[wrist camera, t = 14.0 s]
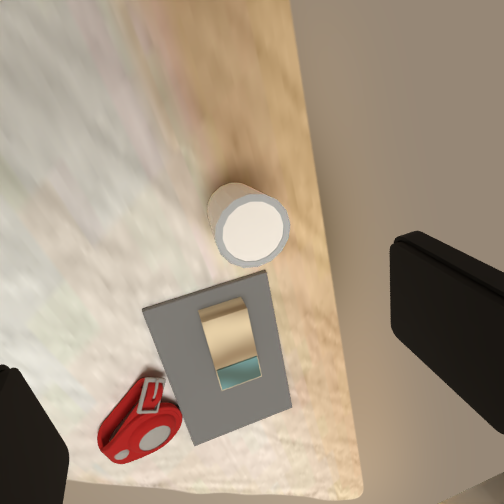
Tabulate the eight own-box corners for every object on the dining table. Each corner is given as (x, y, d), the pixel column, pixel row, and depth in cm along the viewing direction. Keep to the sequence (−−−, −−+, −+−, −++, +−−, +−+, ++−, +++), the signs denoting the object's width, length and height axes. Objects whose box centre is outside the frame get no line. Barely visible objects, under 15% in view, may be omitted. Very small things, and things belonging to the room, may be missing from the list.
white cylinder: (268, 232, 41) (293, 258, 34) (206, 246, 39) (221, 276, 33) (262, 170, 38) (288, 186, 31) (195, 182, 36) (208, 202, 30)
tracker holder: (196, 431, 48) (124, 485, 44) (182, 405, 51) (113, 453, 47) (166, 382, 40) (76, 443, 37) (151, 355, 43) (66, 409, 40)
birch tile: (197, 310, 41) (202, 324, 39) (240, 296, 42) (247, 309, 40) (217, 376, 45) (222, 392, 43) (255, 362, 46) (262, 377, 44)
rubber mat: (193, 442, 50) (194, 446, 49) (142, 309, 40) (142, 312, 39) (290, 404, 52) (292, 407, 52) (264, 270, 42) (266, 272, 42)
